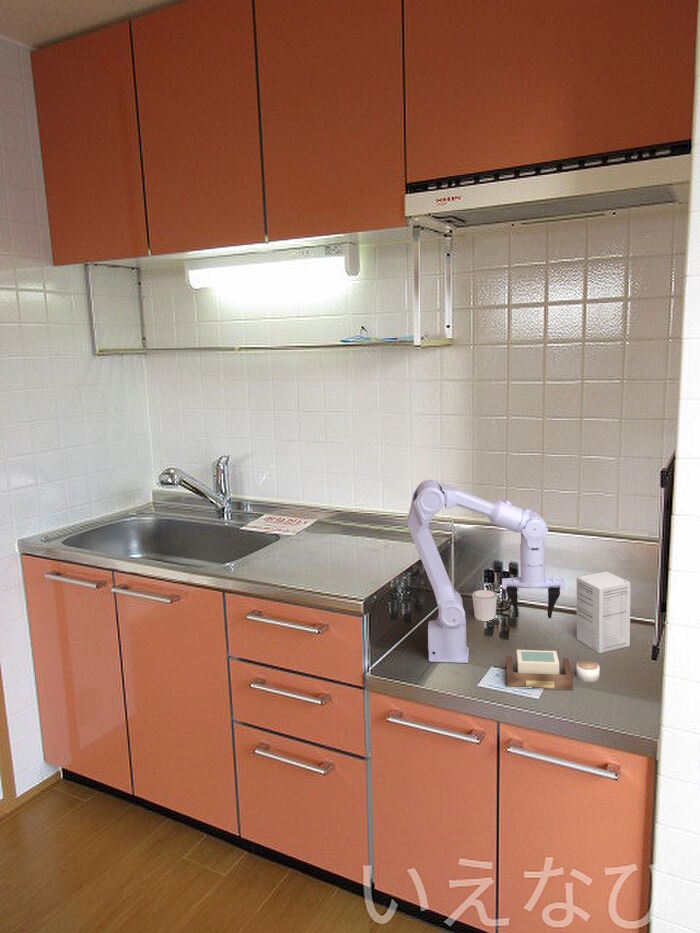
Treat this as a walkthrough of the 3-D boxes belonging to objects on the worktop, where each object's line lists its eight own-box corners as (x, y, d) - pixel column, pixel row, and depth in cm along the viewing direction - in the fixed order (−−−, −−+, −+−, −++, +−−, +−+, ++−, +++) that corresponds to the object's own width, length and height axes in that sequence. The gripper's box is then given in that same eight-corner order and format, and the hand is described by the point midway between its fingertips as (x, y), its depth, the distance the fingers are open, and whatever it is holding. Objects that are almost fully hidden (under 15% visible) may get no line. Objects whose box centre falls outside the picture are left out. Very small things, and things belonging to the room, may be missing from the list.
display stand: (507, 688, 154) (507, 675, 154) (506, 668, 163) (506, 656, 163) (573, 690, 152) (573, 678, 151) (568, 670, 161) (568, 658, 160)
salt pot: (577, 682, 155) (577, 669, 155) (575, 671, 160) (575, 659, 160) (601, 682, 154) (601, 670, 154) (597, 672, 159) (597, 659, 159)
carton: (518, 680, 158) (518, 662, 157) (516, 667, 164) (516, 649, 163) (559, 682, 156) (559, 663, 155) (556, 668, 162) (556, 651, 161)
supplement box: (606, 632, 179) (607, 570, 176) (631, 646, 171) (632, 581, 167) (575, 639, 176) (575, 576, 173) (598, 654, 168) (599, 588, 165)
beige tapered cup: (482, 610, 197) (482, 587, 196) (502, 616, 192) (502, 593, 191) (467, 618, 193) (466, 594, 192) (487, 624, 188) (487, 600, 187)
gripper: (562, 557, 167) (562, 610, 170) (501, 557, 170) (502, 608, 173) (565, 567, 161) (565, 622, 163) (501, 566, 164) (502, 620, 166)
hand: (533, 616), depth 168 cm, fingers open, 7 cm apart
